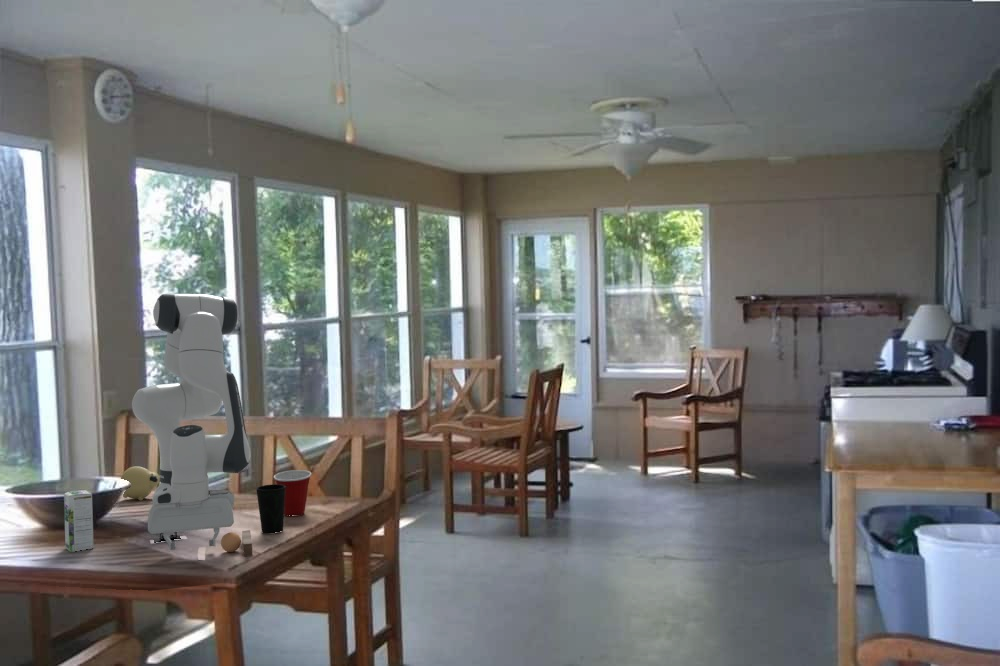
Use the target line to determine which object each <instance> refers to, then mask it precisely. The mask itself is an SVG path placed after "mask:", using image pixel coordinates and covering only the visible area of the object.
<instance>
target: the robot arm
mask: <svg viewBox="0 0 1000 666" xmlns="http://www.w3.org/2000/svg"><path fill="white" fill-rule="evenodd" d="M152 313H153V314H152V315H153V319H154V322H155V326H156V327H157V328H158V330H160V331H163V332H165V333H167V334H166V341H165V347H164V348H165V349H164V355H163V356H164V357H163V365H164V367H165V369H166V371H168V373H170V374H172V375H173V376H175V377H178V378H179V381H178V382H174V383H173V382H172V383H163V384H152V385H148V386H146V387H143V388H139V389H138V390H137V391H136V392H135V393H134V396H133V397H132V399H131V400H132V401H131V409H132V413H133V414H134V416H135V418H136V419H137V420H138V421H140V422H141V423H143V424H144V425H146V426H147V427H148V428H149V429H150V430H151V432H152V433H153V434H154V436H155V438H156V441H157V444H158V449H159V451H158V452H159V457H160V469H159V470H158V471H159V473H158V475H159V478H160V482H159V484H158V485H157V486H156V487H155V489H154V493H153V494H152V496H151V500H152V504H151V506H150V508H149V511H148V519H147V531H148V533H149V534H151V535H155V534H158V535H159V533H164V534H163V536H164V539H165V540H166V541H167V542H166V543H167V544H168V550H169V551H175V550H176V541H171V540H170V538H169V536H170V535H171V533H174V532H177V533H178V532H188V531H189V532H190V531H198V530H211V529H212V530H213V533H214V534H213V536H212V537H210V538H209V537H208V544H209V545H208V547H216V540H217V538H218V536H219V534H220V529H221V528H230V527H232V526H233V525H234V523H235V517H234V510H233V506H234V504H235V494H234V492H232V491H231V490H228V489H220V490H218V489H214V490H213V489H211V490H210V488H209V485H210V484H209V480H210V479H209V475H208V473H224V474H225V473H226V474H239V473H241V472H242V471H243V470H244V469H245V468H247V467H248V465H249V464H250V462H251V456H252V455H251V447H250V443H249V441H248V436H247V431H246V425H245V420H244V414H243V408H242V401H241V395H240V390H239V386H238V382H237V378H236V376H235V374H234V373H233V372H230V371H229V370H228V369H227V367H226V365H225V361H224V341H223V335H227V334H231V333H232V332H233V331H234V330H235V329H236V327H237V324H238V322H239V318H240V317H239V314H240V313H239V309H238V304H237V303H236V302H235V300H234V299H233V298H230V297H226V296H217V295H211V294H204V293H197V294H196V293H174V292H172V293H171V292H169V293H164V294H161V295H160V296H158V297H157V299H156V302H155V304H154V306H153V311H152ZM222 405H223V407H224V414H225V420H226V427H227V432H226V433H223V434H222V433H221V434H205V430H204V428H203V427H202V426H201V425H196V424H186V425H183V426H181V424H180V422H181V421H188V420H189V421H190V420H197V419H204V418H206V417H207V418H208V417H210V416H213V415H216V414H217V413H218V412H219V411H220V409H221V408H222Z"/></svg>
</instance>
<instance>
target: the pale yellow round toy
mask: <svg viewBox="0 0 1000 666" xmlns="http://www.w3.org/2000/svg"><path fill="white" fill-rule="evenodd" d="M120 479H124V480H127V481H129V482H130V483H131V487H130V488H128V489H127V490H126V491H125V492H124V494H123V493H122V497H123V498H124V499H126V498H130V499H136V500H138V501H143V500H144V498H147V497H148V496H149V495H151V493H152V491H153V490H155V489H156V488H157V487H158V486H159V485H160V483H161V482H160V478H159V473H158V472H157V471H150V470H149V469H147V468H145V467H142V466H138V465H137V466H136V465H135V466H130V467H128V468H127V469H126V470H125V471H124V472H123V473H122V475H121V477H120Z"/></svg>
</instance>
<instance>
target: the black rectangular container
mask: <svg viewBox="0 0 1000 666" xmlns="http://www.w3.org/2000/svg"><path fill="white" fill-rule="evenodd" d="M180 535H181V534H180ZM180 535H178V532H173V534H170V536H169V538H170V540H174V539H181V538H180ZM152 539H153V540H154V543H156V542H161V541H166V540H165V539H164V533H158V537H156V538H152ZM156 544H157V543H156Z"/></svg>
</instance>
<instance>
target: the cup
mask: <svg viewBox="0 0 1000 666" xmlns="http://www.w3.org/2000/svg"><path fill="white" fill-rule="evenodd" d="M285 489H286V486H284V485H279V484H277V483H274V484H264V485H260V486H258V487H256V496H257V497H256V498H257V504H258V511H259V518H260V519H259V521H260V527H261V533H262V532H263V533H262V534H264V533H275V532H280V531H282V532H283V531H284V520H285V515H284V507H285ZM280 533H281V532H280ZM275 534H276V533H275Z"/></svg>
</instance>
